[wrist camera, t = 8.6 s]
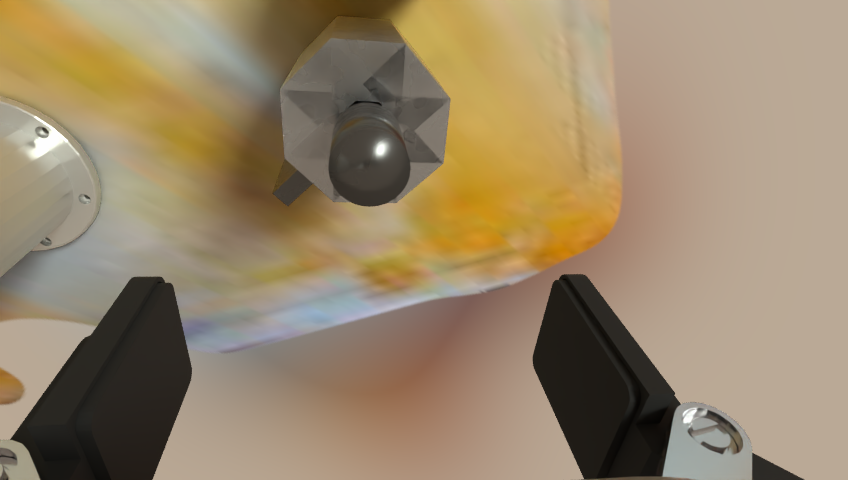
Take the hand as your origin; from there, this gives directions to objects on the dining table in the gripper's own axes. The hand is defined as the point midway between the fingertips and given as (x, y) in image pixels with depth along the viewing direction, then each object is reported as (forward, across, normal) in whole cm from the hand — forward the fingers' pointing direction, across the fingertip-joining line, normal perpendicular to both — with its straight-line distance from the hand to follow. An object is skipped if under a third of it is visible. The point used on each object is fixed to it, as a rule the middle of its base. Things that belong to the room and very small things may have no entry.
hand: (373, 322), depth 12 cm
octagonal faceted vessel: (+28, +1, +1) cm, 28 cm away
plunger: (+27, 0, 0) cm, 27 cm away
